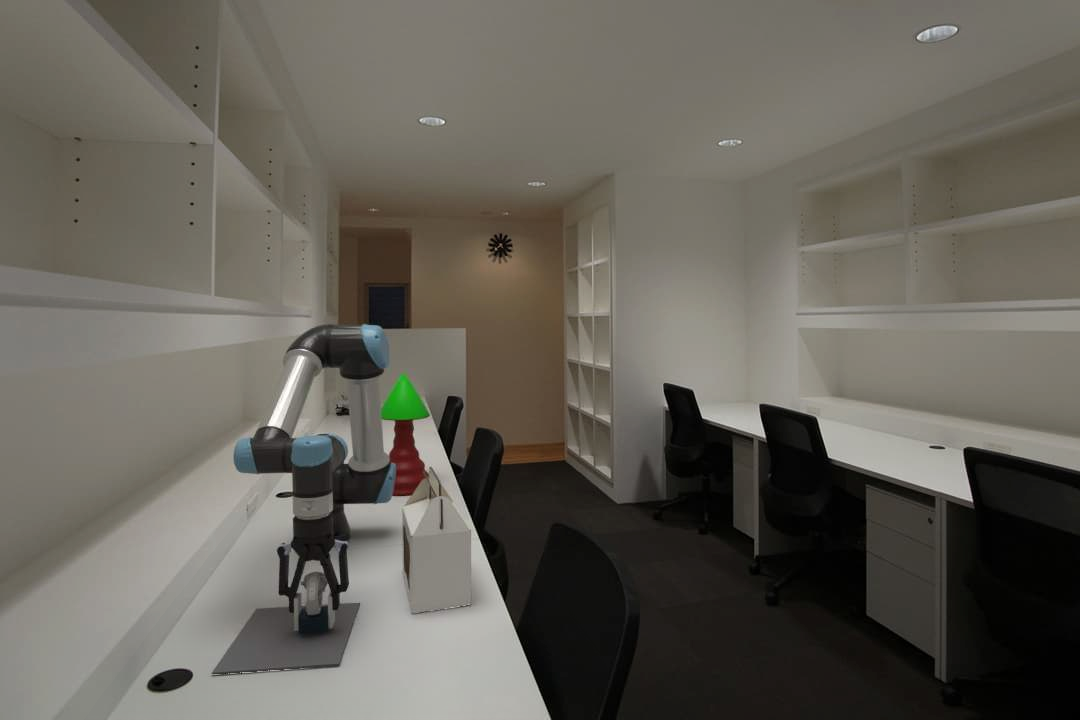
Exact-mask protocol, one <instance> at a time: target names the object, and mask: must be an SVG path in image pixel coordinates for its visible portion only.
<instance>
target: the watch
mask: <svg viewBox="0 0 1080 720" xmlns="http://www.w3.org/2000/svg"><path fill="white" fill-rule="evenodd" d="M300 586H303V587H304V589H305V590H306V601H305V606H306V608H303V609H302V610H301V613H300V616H299V634H306V633H315V632H323V631H328V630H329V626H328V606H322V605H323V594H324V593H325V592H326V589H327V586H328V582H327V579H326V576H325V573H324V571H312V572H309V573H307V574H305V576H304V577H303V579H302V581H301V580H300ZM321 606H322V607H321Z"/></svg>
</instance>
